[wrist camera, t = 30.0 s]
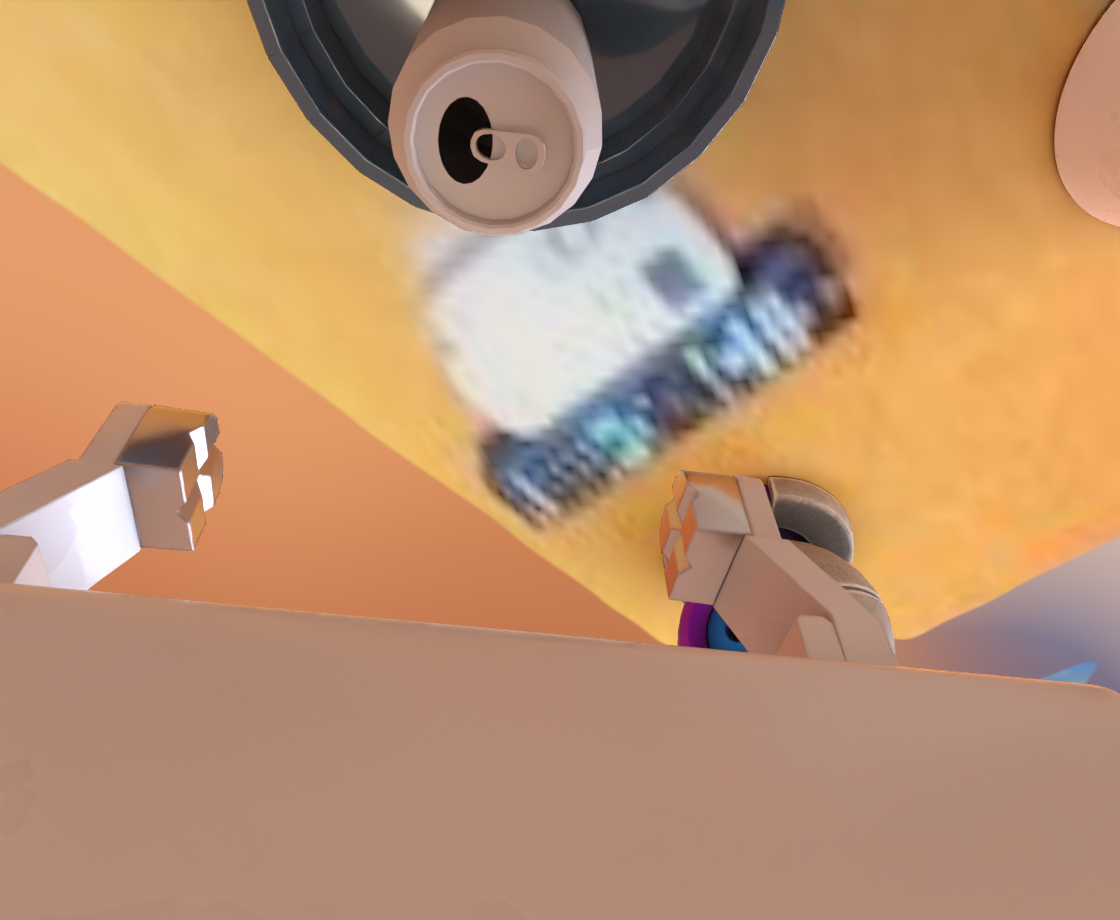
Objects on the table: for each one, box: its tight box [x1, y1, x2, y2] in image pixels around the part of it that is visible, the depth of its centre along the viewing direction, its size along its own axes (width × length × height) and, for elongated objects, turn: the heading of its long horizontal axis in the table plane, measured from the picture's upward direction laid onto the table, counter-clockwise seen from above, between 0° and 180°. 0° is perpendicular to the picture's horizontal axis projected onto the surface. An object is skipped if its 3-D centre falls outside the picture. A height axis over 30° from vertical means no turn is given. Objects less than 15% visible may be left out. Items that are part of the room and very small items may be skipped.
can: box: [388, 0, 602, 236], centre depth 32 cm, size 8×8×12 cm
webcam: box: [663, 477, 895, 655], centre depth 52 cm, size 13×13×15 cm
